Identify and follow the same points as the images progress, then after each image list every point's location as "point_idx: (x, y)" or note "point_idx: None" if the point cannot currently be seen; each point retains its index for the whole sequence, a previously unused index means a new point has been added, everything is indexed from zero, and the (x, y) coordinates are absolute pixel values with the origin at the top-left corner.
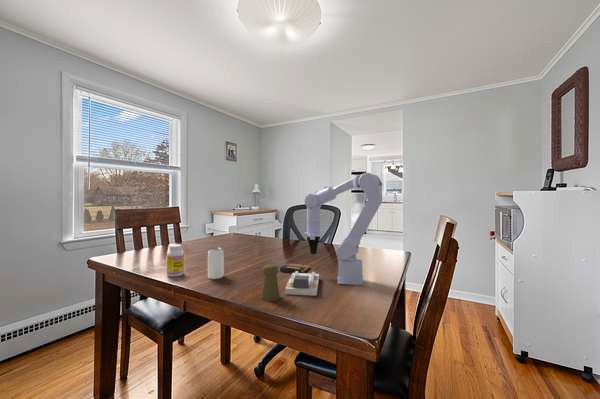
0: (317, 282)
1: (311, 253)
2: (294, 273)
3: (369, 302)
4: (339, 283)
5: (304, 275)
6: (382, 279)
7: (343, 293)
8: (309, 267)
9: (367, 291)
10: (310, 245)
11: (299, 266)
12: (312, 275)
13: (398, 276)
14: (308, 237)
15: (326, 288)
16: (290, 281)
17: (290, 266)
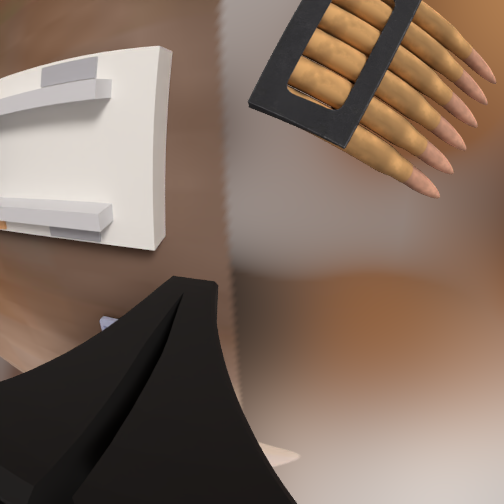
0: (22, 232)
1: (167, 283)
2: (144, 62)
3: (16, 348)
4: (101, 322)
5: (105, 147)
6: None
7: (31, 308)
8: (411, 187)
9: None
10: (82, 362)
11: (399, 102)
12: (31, 215)
13: None
14: (7, 501)
15: (46, 259)
16: (11, 85)
17: (390, 24)
